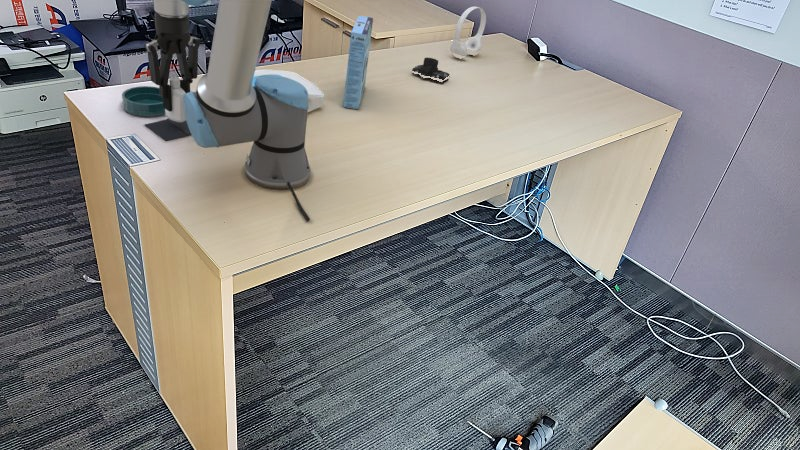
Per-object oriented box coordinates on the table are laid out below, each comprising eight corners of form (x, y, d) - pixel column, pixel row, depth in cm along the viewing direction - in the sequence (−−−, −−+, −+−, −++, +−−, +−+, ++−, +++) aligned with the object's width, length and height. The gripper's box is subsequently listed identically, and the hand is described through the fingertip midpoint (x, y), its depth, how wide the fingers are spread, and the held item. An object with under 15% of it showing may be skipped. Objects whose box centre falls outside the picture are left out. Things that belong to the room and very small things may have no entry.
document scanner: (201, 98, 172) (200, 77, 168) (283, 84, 190) (284, 65, 186) (241, 127, 160) (241, 105, 157) (324, 110, 179) (326, 90, 175)
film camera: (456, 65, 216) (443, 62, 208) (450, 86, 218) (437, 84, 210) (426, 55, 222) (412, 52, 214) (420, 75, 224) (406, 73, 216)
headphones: (483, 57, 249) (495, 7, 238) (458, 63, 236) (470, 12, 226) (469, 51, 253) (480, 2, 242) (444, 57, 240) (454, 6, 229)
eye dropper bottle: (171, 124, 150) (168, 78, 144) (164, 114, 154) (161, 69, 147) (188, 122, 153) (187, 77, 146) (181, 113, 156) (179, 68, 150)
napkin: (208, 130, 156) (208, 129, 156) (165, 141, 148) (165, 139, 148) (187, 116, 161) (187, 114, 161) (144, 125, 153) (144, 123, 153)
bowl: (181, 111, 163) (180, 99, 161) (138, 121, 154) (137, 108, 152) (157, 95, 169) (156, 83, 167) (114, 103, 160) (113, 90, 158)
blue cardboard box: (358, 110, 183) (368, 35, 170) (341, 107, 183) (350, 32, 170) (364, 87, 199) (374, 17, 187) (349, 84, 199) (358, 14, 186)
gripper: (195, 5, 146) (197, 96, 159) (128, 11, 135) (136, 108, 148) (212, 15, 143) (213, 106, 155) (145, 21, 131) (152, 120, 144)
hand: (175, 107), depth 151 cm, fingers closed on eye dropper bottle, 4 cm apart
